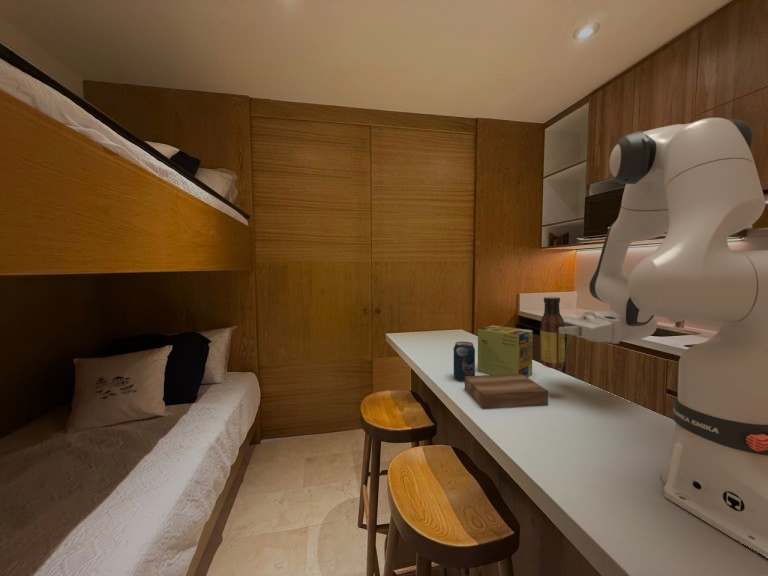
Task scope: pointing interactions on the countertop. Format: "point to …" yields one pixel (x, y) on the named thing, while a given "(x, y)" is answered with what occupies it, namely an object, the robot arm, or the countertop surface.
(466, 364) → the soda can
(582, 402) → the countertop surface
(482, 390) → the walnut stand
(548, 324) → the sauce bottle
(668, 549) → the countertop surface
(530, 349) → the protein box
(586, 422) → the countertop surface
